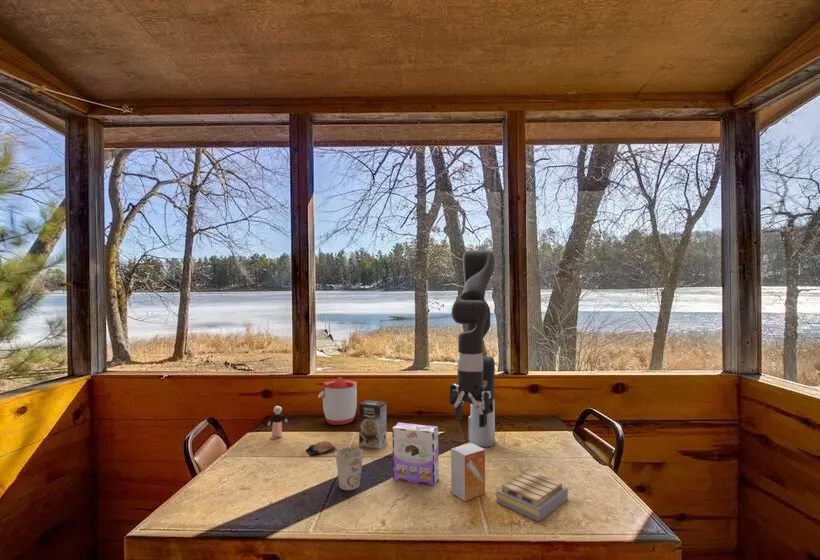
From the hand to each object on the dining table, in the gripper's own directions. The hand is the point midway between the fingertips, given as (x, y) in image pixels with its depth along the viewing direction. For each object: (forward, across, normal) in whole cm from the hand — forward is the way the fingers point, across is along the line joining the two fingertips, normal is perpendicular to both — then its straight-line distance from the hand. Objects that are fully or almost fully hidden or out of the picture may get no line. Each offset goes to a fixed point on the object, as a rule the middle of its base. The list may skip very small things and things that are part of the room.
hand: (470, 423), depth 117 cm
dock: (+20, +14, +10) cm, 27 cm away
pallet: (+17, +14, +10) cm, 24 cm away
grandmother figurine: (+20, -82, -21) cm, 87 cm away
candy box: (+21, -18, -5) cm, 28 cm away
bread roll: (+21, -58, -15) cm, 64 cm away
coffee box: (+20, -49, +2) cm, 53 cm away
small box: (+21, -1, 0) cm, 21 cm away
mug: (+21, -31, -22) cm, 43 cm away
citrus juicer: (+20, -81, +7) cm, 84 cm away
